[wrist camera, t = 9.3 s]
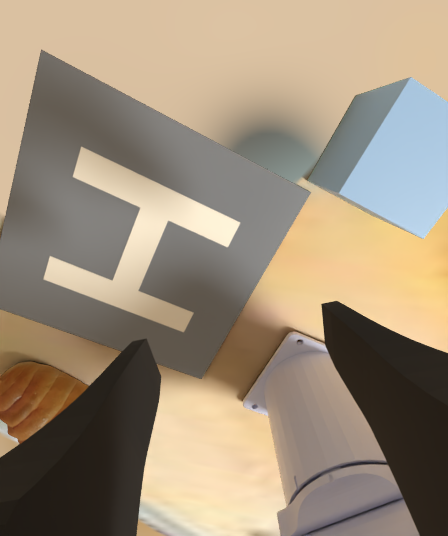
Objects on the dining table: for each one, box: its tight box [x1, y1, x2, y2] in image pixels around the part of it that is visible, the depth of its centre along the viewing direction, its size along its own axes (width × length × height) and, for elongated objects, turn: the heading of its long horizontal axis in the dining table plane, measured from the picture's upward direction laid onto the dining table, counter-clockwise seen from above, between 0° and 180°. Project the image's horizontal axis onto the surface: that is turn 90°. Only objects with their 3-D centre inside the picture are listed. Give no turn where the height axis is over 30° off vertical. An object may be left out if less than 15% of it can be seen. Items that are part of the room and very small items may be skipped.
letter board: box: [0, 50, 311, 379], centre depth 19 cm, size 16×16×1 cm
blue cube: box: [307, 77, 448, 239], centre depth 15 cm, size 5×5×5 cm
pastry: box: [0, 361, 89, 444], centre depth 22 cm, size 9×7×4 cm
